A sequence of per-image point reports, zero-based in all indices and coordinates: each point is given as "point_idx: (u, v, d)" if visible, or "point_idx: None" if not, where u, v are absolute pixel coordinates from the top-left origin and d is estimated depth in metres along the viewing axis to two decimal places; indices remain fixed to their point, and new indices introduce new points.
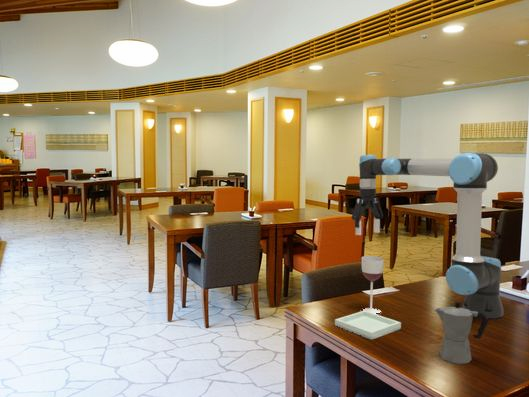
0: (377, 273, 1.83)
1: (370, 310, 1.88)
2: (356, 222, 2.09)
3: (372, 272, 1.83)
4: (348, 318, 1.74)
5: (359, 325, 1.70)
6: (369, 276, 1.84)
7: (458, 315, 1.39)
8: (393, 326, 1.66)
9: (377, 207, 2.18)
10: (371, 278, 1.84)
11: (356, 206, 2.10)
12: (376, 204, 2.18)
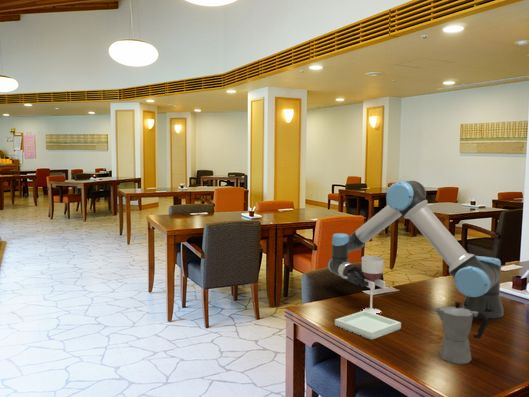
0: (377, 273, 1.83)
1: (370, 310, 1.88)
2: (362, 282, 1.87)
3: (372, 272, 1.83)
4: (348, 318, 1.74)
5: (359, 325, 1.70)
6: (369, 276, 1.84)
7: (458, 315, 1.39)
8: (393, 326, 1.66)
9: None
10: (371, 278, 1.84)
11: (349, 279, 1.93)
12: None
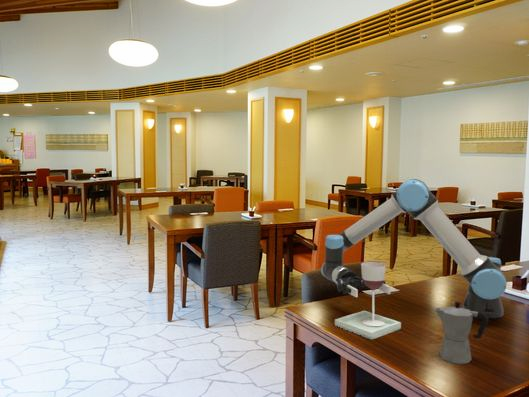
0: (379, 280, 1.67)
1: (372, 322, 1.71)
2: (345, 289, 1.69)
3: (373, 279, 1.67)
4: (348, 318, 1.74)
5: (359, 325, 1.70)
6: (370, 284, 1.68)
7: (458, 315, 1.39)
8: (393, 326, 1.66)
9: None
10: (372, 286, 1.68)
11: (337, 285, 1.76)
12: None
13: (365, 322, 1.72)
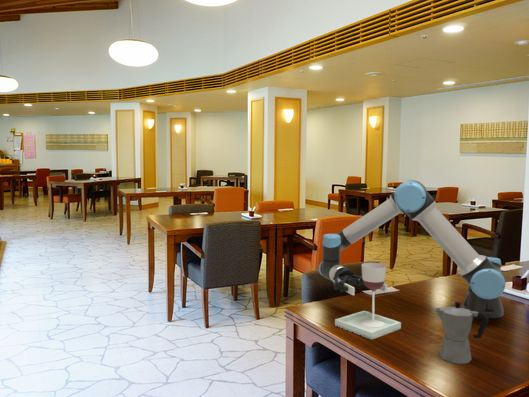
0: (379, 282, 1.67)
1: (372, 322, 1.71)
2: (342, 287, 1.70)
3: (374, 281, 1.66)
4: (348, 318, 1.74)
5: (359, 325, 1.70)
6: (370, 285, 1.67)
7: (458, 315, 1.39)
8: (393, 326, 1.66)
9: None
10: (373, 287, 1.68)
11: None
12: None
13: (365, 323, 1.72)
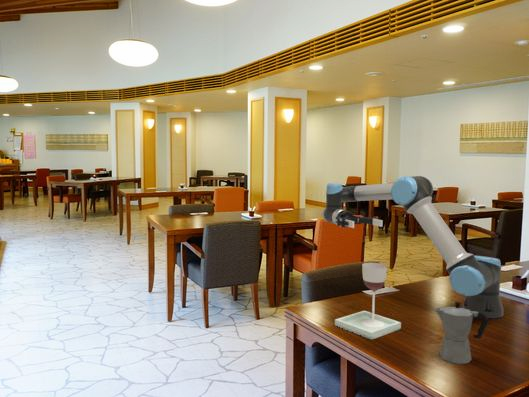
0: (380, 282, 1.67)
1: (372, 322, 1.71)
2: (343, 222, 1.96)
3: (375, 281, 1.66)
4: (348, 318, 1.74)
5: (359, 325, 1.70)
6: (371, 285, 1.67)
7: (458, 315, 1.39)
8: (393, 326, 1.66)
9: None
10: (373, 287, 1.68)
11: None
12: None
13: (365, 323, 1.72)
